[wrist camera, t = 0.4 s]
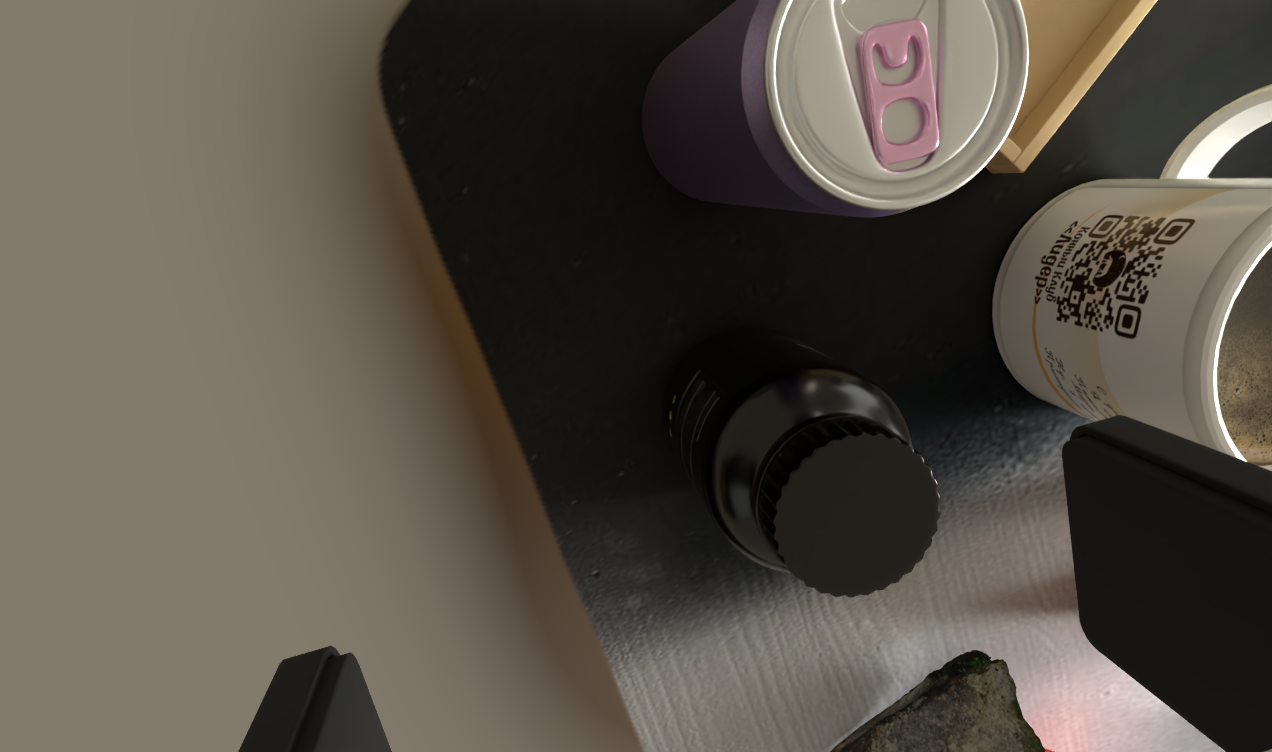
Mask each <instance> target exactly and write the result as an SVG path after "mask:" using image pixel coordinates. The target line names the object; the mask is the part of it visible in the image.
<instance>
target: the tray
mask: <svg viewBox="0 0 1272 752" xmlns="http://www.w3.org/2000/svg"><path fill="white" fill-rule="evenodd" d="M1156 2H1157V0H1020V3H1021V5H1022V9H1023V12H1024V16H1025V21H1026V26H1027V32H1028V42H1029V65H1028V75H1027V81H1026V87H1025V91H1024V96H1023V99H1022V102H1021V106H1020V109H1019V111H1018V114H1017V117H1016V119H1015V121H1014V123H1013V126H1012V128H1011V130H1010V132H1009V133H1008V135H1007V137H1006V139H1005V140H1004V142H1003V144H1002V145H1001V147H1000V148H999V150H998V151H997V152H996V154H995V155H994V156H993V158H992V159H991V160H990V161H989V162H988V163H987V165H986V166H985V167H986V168H987V169H988V170H989V171H990V172H991V173H1023V172H1024V171H1025V170H1026V169H1027V167H1028V166H1029V165H1030V164H1031V162H1032V161H1033V160H1034V158H1035V157H1036V156H1037V155H1038V153H1039V152H1040V151H1041V149H1042V148H1043V147H1044V146H1045V144H1046V143H1047V142H1048V140H1049V139H1050V138H1051V137H1052V135H1053V134H1054V133H1055V131H1056V130H1057V129H1058V128H1059V126H1060V125H1061V124H1062V122H1063V121H1064V120H1065V119H1066V117H1067V116H1068V115H1069V113H1070V112H1071V111H1072V110H1073V108H1074V107H1075V106H1076V104H1077V103H1078V102H1079V101H1080V99H1081V98H1082V97H1083V95H1084V94H1085V93H1086V92H1087V90H1088V89H1089V88H1090V86H1091V85H1092V84H1093V83H1094V81H1095V80H1096V79H1097V77H1098V76H1099V75H1100V74H1101V72H1102V71H1103V70H1104V68H1105V67H1106V66H1107V65H1108V63H1109V62H1110V61H1111V59H1112V58H1113V57H1114V56H1115V54H1116V53H1117V52H1118V50H1119V49H1120V48H1121V47H1122V45H1123V44H1124V43H1125V41H1126V40H1127V39H1128V38H1129V36H1130V35H1131V34H1132V32H1133V31H1134V30H1135V29H1136V27H1137V26H1138V25H1139V23H1140V22H1141V21H1142V20H1143V18H1144V17H1145V16H1146V14H1147V13H1148V12H1149V11H1150V9H1151V8H1152V7H1153V5H1154V4H1155V3H1156Z"/></svg>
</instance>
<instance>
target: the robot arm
mask: <svg viewBox="0 0 1272 752" xmlns="http://www.w3.org/2000/svg"><path fill="white" fill-rule="evenodd" d="M1062 460H1063V469H1064V479H1065V488H1066V497H1067V507H1068V516H1069V525H1070V535H1071V544H1072V553H1073V563H1074V572H1075V582H1076V591H1077V600H1078V610H1079V618H1080V623H1081V626H1082V629H1083V632H1084V633H1085V635H1086V637H1087V639H1088V640H1089V641H1090V643H1091V644H1092V645H1093V646H1094V647H1095V648H1096V649H1097V650H1098V651H1099V652H1101V653H1102V654H1103V655H1104V656H1106V657H1107V658H1108V659H1110V660H1111V661H1112V662H1113V663H1115V664H1116V665H1117V666H1118V667H1120V668H1121V669H1122V670H1123V671H1125V672H1126V673H1127V674H1128V675H1130V676H1131V677H1132V678H1134V679H1135V680H1136V681H1137V682H1139V683H1140V684H1141V685H1142V686H1144V687H1145V688H1146V689H1147V690H1149V691H1150V692H1151V693H1153V694H1154V695H1155V696H1156V697H1158V698H1159V699H1160V700H1161V701H1163V702H1164V703H1165V704H1166V705H1168V706H1169V707H1170V708H1171V709H1173V710H1174V711H1175V712H1177V713H1178V714H1179V715H1180V716H1182V717H1183V718H1184V719H1185V720H1187V721H1188V722H1189V723H1190V724H1192V725H1193V726H1194V727H1195V728H1197V729H1198V730H1199V731H1201V732H1202V733H1203V734H1204V735H1206V736H1207V737H1208V738H1209V739H1211V740H1212V741H1213V742H1214V743H1216V744H1217V745H1218V746H1220V747H1221V748H1222V749H1223V750H1225V751H1226V752H1272V471H1270V470H1268V469H1265V468H1262V467H1260V466H1257V465H1254V464H1252V463H1249V462H1246V461H1244V460H1241V459H1238V458H1236V457H1233V456H1230V455H1228V454H1225V453H1223V452H1220V451H1217V450H1215V449H1212V448H1209V447H1207V446H1204V445H1201V444H1199V443H1196V442H1193V441H1191V440H1188V439H1185V438H1183V437H1180V436H1177V435H1175V434H1172V433H1169V432H1167V431H1164V430H1162V429H1159V428H1156V427H1154V426H1151V425H1148V424H1146V423H1143V422H1140V421H1138V420H1135V419H1132V418H1130V417H1127V416H1123V415H1117V416H1113V417H1110V418H1106V419H1103V420H1100V421H1096V422H1093V423H1089V424H1086V425H1083V426H1079V427H1076V428H1075V429H1074V430H1073V431H1072V434H1071V437H1070V441H1067V442H1066V443H1065V444H1064V446H1063V449H1062ZM239 752H392V751H391V749H390V746H389V743H388V741H387V738H386V736H385V733H384V730H383V728H382V725H381V722H380V719H379V717H378V714H377V711H376V709H375V706H374V704H373V701H372V698H371V695H370V693H369V690H368V687H367V685H366V682H365V680H364V677H363V674H362V672H361V669H360V666H359V664H358V661H357V659H356V658H355V656H354V655H353V654H352V653H347V654H344V655H340V654H339V653H338V651H337V650H336V649H335V648H334V647H332V646H329V647H325V648H322V649H319V650H315V651H312V652H308V653H305V654H301V655H298V656H295V657H291V658H288V659H284V660H283V661H282V662H281V663H280V665H279V667H278V669H277V671H276V673H275V675H274V677H273V679H272V681H271V684H270V686H269V688H268V690H267V692H266V694H265V696H264V699H263V701H262V703H261V705H260V707H259V709H258V711H257V713H256V715H255V718H254V720H253V722H252V724H251V726H250V729H249V730H248V732H247V735H246V737H245V739H244V741H243V743H242V745H241V747H240V750H239Z"/></svg>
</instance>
